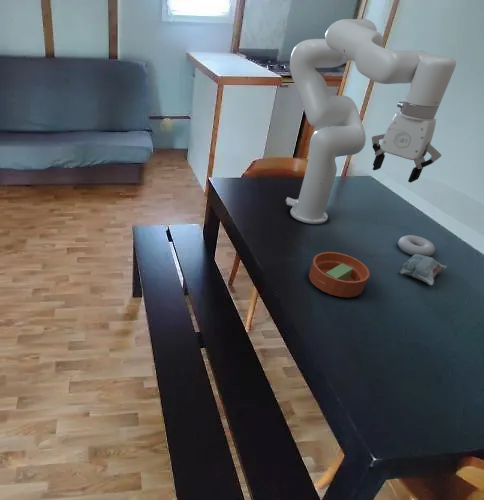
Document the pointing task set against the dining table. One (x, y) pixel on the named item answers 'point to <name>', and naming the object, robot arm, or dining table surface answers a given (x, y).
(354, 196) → the dining table surface
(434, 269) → the packaged food
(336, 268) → the bar
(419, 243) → the donut
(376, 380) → the dining table surface
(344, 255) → the bowl
